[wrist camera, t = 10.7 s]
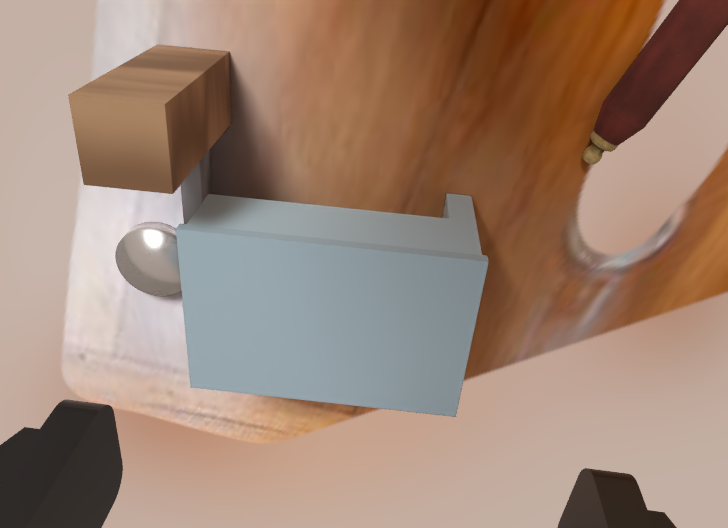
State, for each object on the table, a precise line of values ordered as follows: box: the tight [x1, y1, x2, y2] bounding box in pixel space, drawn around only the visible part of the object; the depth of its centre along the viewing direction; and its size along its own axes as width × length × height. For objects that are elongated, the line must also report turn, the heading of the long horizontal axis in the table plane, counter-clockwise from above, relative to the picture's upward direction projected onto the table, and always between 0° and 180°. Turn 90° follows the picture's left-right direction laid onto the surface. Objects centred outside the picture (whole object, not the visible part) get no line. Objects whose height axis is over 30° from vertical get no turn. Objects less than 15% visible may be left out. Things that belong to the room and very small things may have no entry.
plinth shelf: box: [176, 193, 489, 417], centre depth 36 cm, size 10×15×8 cm
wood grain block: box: [68, 45, 232, 224], centre depth 33 cm, size 16×4×10 cm, turn 175°
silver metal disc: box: [116, 222, 181, 296], centre depth 40 cm, size 5×5×1 cm
